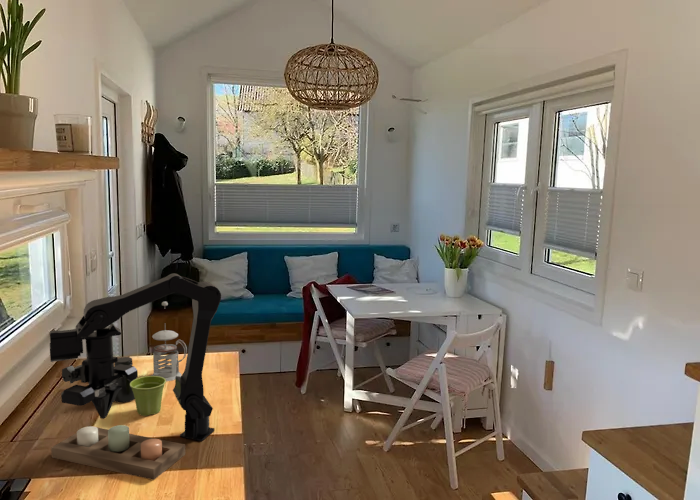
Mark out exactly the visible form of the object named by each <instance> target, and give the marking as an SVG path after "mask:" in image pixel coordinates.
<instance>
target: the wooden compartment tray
mask: <svg viewBox="0 0 700 500" xmlns="http://www.w3.org/2000/svg"><path fill="white" fill-rule="evenodd" d="M89 426H90V425H87V427H89ZM96 427H97V426H96ZM97 428H98V442H97V443H95V444H94V445H92V446H90V447H84V446H80V445H77V432H76V433H74V434H72V435H71V436H69V437H67V438H65V439H64V440H62V441H60V442H58V443H56V444H55V445H53V446H52V447H50V449H51V450H50V451H51V458H53V459H56V460H62V461H66V462H71V463H76V464H79V465H84V466H85V465H86V466H90V467H93V468H98V469H102V470H103V469H104V470H108V471H112V472H117V473H121V474H125V475H130V476H135V477H138V478H144V479H148V480H152V481H154V480H156V479H157V478H158V477H159V476H161V475H162V474H163V473H164V472H166V470H168V469H170V467H172V466H173V465H174V464H175V463H176V462H178V461H180V459H181V458H183V457H184V456H185V455H186V444H185V443H180V442H173V441H170V440H164V439H159V440H161V441H162V456H160V457H159V458H158V459H157V460H155V461H151V460H147V459H142V458H141V443H142V442H143V441H145V440H148V439H155V438H154V437H148V436H143V435H139V434H134V433H133V434H132V433H129V444H130V446H129V448H128V449H126V450H124V451H122V453H119V452H112V451H109V448H108V430H109V428H102V427H97Z"/></svg>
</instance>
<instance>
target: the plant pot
mask: <svg viewBox="0 0 700 500" xmlns="http://www.w3.org/2000/svg"><path fill="white" fill-rule="evenodd" d="M166 382H167V381H166V379H165V378H163V377H159V376H151V375H146V376H141V377H137V379H135V380H133V381H132V382H131V383H130V387H131V388H132V391H133V393H134V397H135V399H134V401H135V406H136V407H135V408H136V412H137V414H138V415H140V416H142V417H144V416H145V417H147V416H150V415H157V414H158V413H160V411H161V408H162V399H163V391H164V389H165V384H166Z"/></svg>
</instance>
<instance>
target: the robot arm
mask: <svg viewBox="0 0 700 500" xmlns="http://www.w3.org/2000/svg"><path fill="white" fill-rule="evenodd" d="M174 293H178V294H180V295H183V296H185V297H187V298H189V299H191V301H192V313H193V320H192V324H191V325H192V326H191V331H190V332H191V333H190V337H189V344H188V348H187V353H186V359H185V360H186V361H185V367H184V371H183V373H181V374H182V375H181V377H179V376H176V377H175V380H174V383H175V384H174V387H173V389H172V392H173V393H174V397H175V399H176V400H177V402H178V404H179V406H180V407H181V408H182V410H184V411H185V414H184V431H183V432H181V433H180V434H179V437H180V438H183V439H189V440H193V441H199V442H202V441H204V440H205V439H206V438H207V437H209V436H210V435H211V434H212V433H214V432H215V428H214V427H210V416H211V414H212V412H213V406H212V405H211V403H210V402H209V400H208V399H207V398H206V396H205V395H204V382H203V369H204V364H205V359H206V352H207V347H208V340H209V335H210V329H211V324H212V320H213V318H214V317H215V314H216V313H217V311H218V310H219V309H218V308H219V305H220V303H221V300H222V293H221V291H220V290H219V288H217V286H215V285H214V284H212V283H211V282H208V281H207V280H206V281H205V280H204V281H200V282H199V281H196V280H193V279H190V278H187V277H185V276H181V275H180V274H178V273H170V274H168V275H167V276H164V277H162V278H160V279H158V280H155V281H152V282H150V283H148V284H145V285H142V286H140V287H138V288H135V289H133V290H130V291H128V292H126V293H122V294H120V295H115V296H106V297H102V298H97V299H94V300H91V301H89V302H88V303H87V304H85V306H84V309H83V313H82V314H83V315H82V316H81V318H80V320H79V321H78V322H77V324H76V325H75V328H74V329H64V330H50V331H49V356H50V357H49V358H50V359H49V360H50V362H51V363H53V362H59V361H68V360H74V359H79V357H81V354H83V353H84V346H83V345H84V344H83V340H84V341H85V353H86V359H83V360H82V362H81V364H80V365H76V366H75V367H74V366H73V365H70V366H66V367H63V368H62V369H61V378H62V380H63V382H65V383H66V382H69V384H74V383H75V382H78V381H80V383H83V384H86V383H88V385H80V384H74V385H72V386H70V387H68V388H66V389H64V390H63V391H62V392H61V394H60V395H61V396H60V397H61V403H63V404H68V405H71V406H72V405H74V406H78V407H81V406H85V405H88V404H89V403H92V404H93V406H94V408H95V411H96V412H97V414H98V416H99V418H100V419H103V420H105V419H106V418H107V417H108V415H109V413H110V410H111V409H112V406H113V404H114V402H115V401H114V400H115V398H116V396H117V394H118V392H119V390H120V389H122V386H118V385H117V383H116V380H118V379H120V378H122V377H124V376H126V379H127V380H129V381H131V380H133V379H135V378H139V376H138V373H139V372H138V369H137V367H135V366H134V365H132V366H129V365H123V364H119V365H117V366H115V362H117V361H118V358H119V357H118V356H114V345H113V344H114V343H113V337H117V336H121V335H122V331H121V330H120V328H119V327H117V326H115V324H114V323H116V322H117V321H118V320H120V319H121V318H122V317H123V316H125V315H126V314H128V313H129V312H131V311H134V310H137V309H138V308H140V307H143V306H146V305H148V304H150V303H153V302H155V301H157V300H160V299H162V298H164V297H166V296H170V295H171V294H172V295H173V294H174Z"/></svg>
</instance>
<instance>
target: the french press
mask: <svg viewBox="0 0 700 500" xmlns="http://www.w3.org/2000/svg"><path fill="white" fill-rule="evenodd" d="M168 305H169V303H168V301H162V302H161V306H163V307H164V308H166V307H167V306H168ZM151 337H152V338H153V340H156V341H164V344H159V345H156V346H154V347H153V349H154V351H153V354H152V357H153V358H152V360H153V361H152V362H153V373H152V374H151V375H150V376H159V377H163V378H165V379H166V382H171V381H175V377H176V376H179V377H181V376H182V374H183V373H181V372H180V369H179V368H180V366H179V365H180V364H179V363H180V362H182V361H183V360H184V359H185V358H186V357H187V354H188V348H187V345H186V343H185V342H184V340H181V339H177V338H178V337H179V333H177V332H176V331H174V330H170V329H169V330H167V329H166V324H164V330H159V331H157V332H155V333H154V334H152V336H151ZM174 339H177V340H176V341H175V344H171V343H169V344H168V343H167V341H171V340H174ZM178 344H181V346H182V347H183V351H184V352H183V357H182V358H181V359H179V350H178V346H177V345H178ZM170 352H171V353H170Z"/></svg>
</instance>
